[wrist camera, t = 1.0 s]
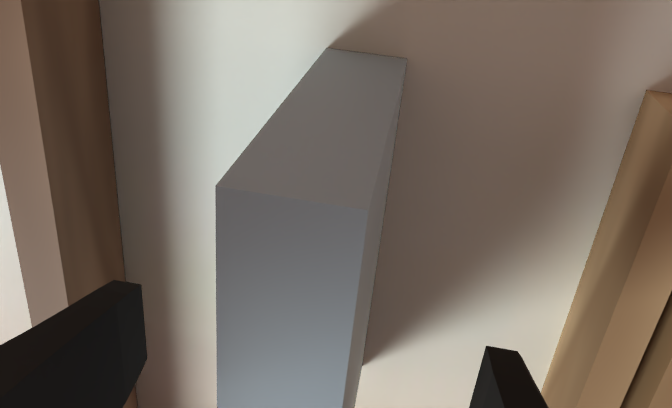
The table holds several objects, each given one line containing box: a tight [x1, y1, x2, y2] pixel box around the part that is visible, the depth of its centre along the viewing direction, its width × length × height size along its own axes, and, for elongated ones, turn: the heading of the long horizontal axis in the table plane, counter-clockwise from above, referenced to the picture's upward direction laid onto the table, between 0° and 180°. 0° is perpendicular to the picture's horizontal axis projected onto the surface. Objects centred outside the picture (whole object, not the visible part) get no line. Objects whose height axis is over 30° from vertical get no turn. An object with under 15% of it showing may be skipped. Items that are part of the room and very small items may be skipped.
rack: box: [0, 0, 137, 408], centre depth 15 cm, size 22×24×3 cm
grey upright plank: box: [216, 48, 407, 408], centre depth 13 cm, size 2×10×8 cm, turn 175°
